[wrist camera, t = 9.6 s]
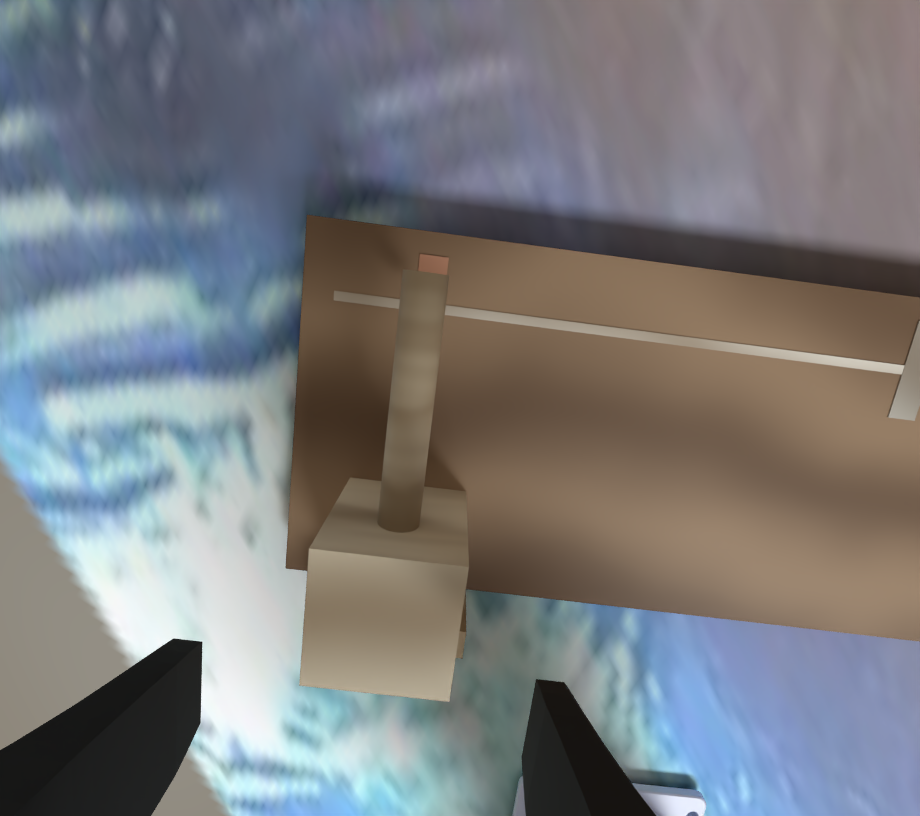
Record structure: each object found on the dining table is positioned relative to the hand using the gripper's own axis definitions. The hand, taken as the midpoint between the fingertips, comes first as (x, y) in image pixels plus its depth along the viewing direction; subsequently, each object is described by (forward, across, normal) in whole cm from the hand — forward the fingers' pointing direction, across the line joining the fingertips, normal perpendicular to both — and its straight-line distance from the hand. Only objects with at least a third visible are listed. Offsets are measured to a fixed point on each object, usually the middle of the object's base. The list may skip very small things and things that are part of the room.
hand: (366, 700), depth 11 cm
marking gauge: (+9, 0, -3) cm, 9 cm away
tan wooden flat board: (+9, -8, -4) cm, 13 cm away
